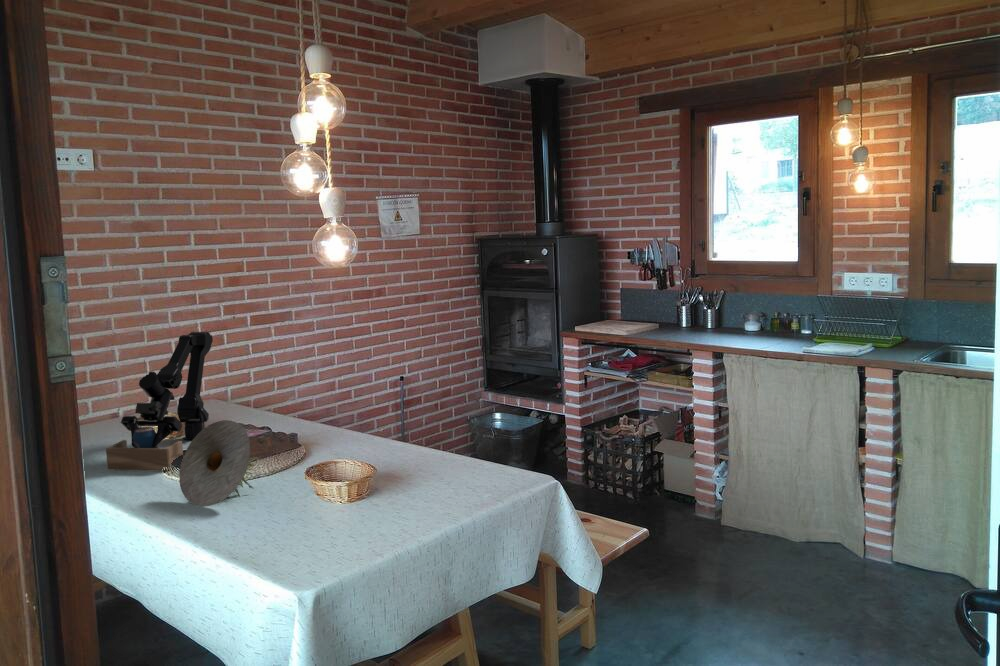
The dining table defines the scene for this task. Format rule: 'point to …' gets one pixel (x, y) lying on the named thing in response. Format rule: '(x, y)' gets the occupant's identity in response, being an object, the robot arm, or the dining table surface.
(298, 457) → the dining table surface
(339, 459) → the dining table surface
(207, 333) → the robot arm
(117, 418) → the dining table surface
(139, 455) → the wooden u-shaped frame
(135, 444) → the soda can
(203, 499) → the disc
